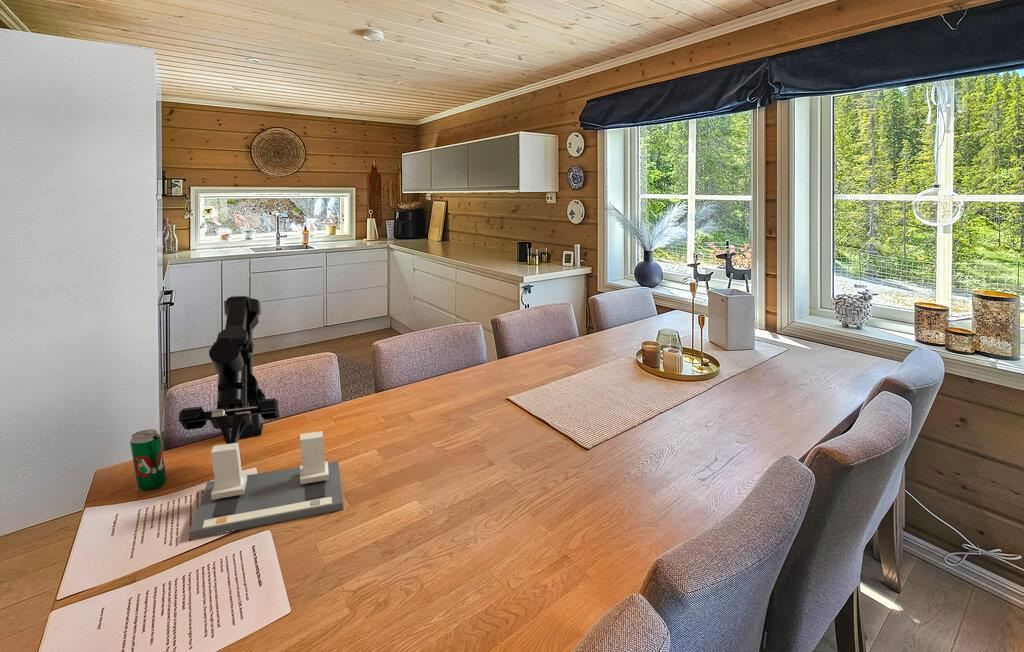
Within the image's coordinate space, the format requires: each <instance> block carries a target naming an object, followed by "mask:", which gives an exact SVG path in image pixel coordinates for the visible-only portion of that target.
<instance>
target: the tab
mask: <svg viewBox="0 0 1024 652" xmlns="http://www.w3.org/2000/svg"><path fill="white" fill-rule="evenodd" d="M299 440H300V441H299V442H300V452H301V453H300V454H301V465H300V466H299V467H300V484H306V483H312V482H318V481H323V480H329V471H328V462H329V461H325V459H326V458H325V446H324V434H323V430H321V431H313V432H305V433H300V436H299Z"/></svg>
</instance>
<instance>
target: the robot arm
mask: <svg viewBox="0 0 1024 652" xmlns="http://www.w3.org/2000/svg"><path fill="white" fill-rule="evenodd" d="M226 299H227V300H224V301H223V304H224V306H223V307H224V315H225V316H226V321H225V327H224V329H223V330H221V331H219V332H218V333H217V336H216V340H215V341H214V342H213V344H212V346H211V347H210V349H209V350H208V354H209V357H210V361H211V363H212V365H213V367H214V370H215V371H216V373H218V374H217V375H218V376H217V395H216V396H217V400H216V401H217V402H216V408H215V409H211V410H209V411H208V410H207V411H205V410H204V408H203V407H202V406H192V407H183V408H181V410H180V411H179V413H178V421H179V423H180V424H181V427H182V428H183V429H184V430H189V431H190V430H196V429H203V428H204V427H205V426H207V422H209V421H210V423H211V425H212V426H213V429H215V430H220V432H221V433H222V437H223V438H224V441H225V444H232V443H239V440H240V439H241V438H248V437H255V436H261V435H262V434H263V429H264V423H261V420H260V417H261V419H263V420H264V421H268V420H269V421H270V420H278V419H280V418H281V412H280V411H281V410H280V404H279V400H277V398H275V397H273V398H266V395H265V393H264V392H263V390H262V388H260V386H259V382H258V380H257V378H256V377H255V375H254V372H253V371H254V369H253V368H254V363H253V361H254V360H253V357H254V356H253V352H254V351H255V343H253V330H254V329H255V328H256V327H257V325H258V324H259V322H260V321H259V317H260V316H259V315H261V314H262V307H261V302H260V300H259V299H256V298H252V297H250V296H246V295H235V296H230V297H227V298H226Z"/></svg>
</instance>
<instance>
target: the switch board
mask: <svg viewBox="0 0 1024 652" xmlns="http://www.w3.org/2000/svg"><path fill="white" fill-rule="evenodd" d="M339 467H340V464H339V461H338V460H335V461H328V471H329V480H323V481H318V482H312V483H306V484H300V466H297V467H291V468H285V469H283V468H282V469H279V470H272V471H265V472H261V473H254V474H252V473H251V474H247V483H246V487H245V492H244V494H242V495H236V496H231V497H225V498H219V499H213V500H212V499H211V493H212V490H213V487H214V484H215V480H210V481H209V480H208V481H207V482H206V485H205V487H204V491H203V492H202V496H201V497H200V498H201V499H200V501H199V503H198V506H197V509H196V512H195V514H194V517H193V520H192V523H191V525H190V528H189V531H188V536H189V540H194V539H200V538H199V537H201V538H205V537H210V536H209V535H211V536H214V535H213V534H216V535H218V534H217V533H221V532H226V531H231V532H233V531H232V530H237V529H239V530H237V531H241V530H246V529H251V528H257V527H261V526H266V525H272V524H276V523H277V524H278V523H281V522H286V521H287V522H288V521H291V520H298V519H303V518H308V517H313V516H317V515H323V514H328V513H333V512H337V511H344V501H343V493H342V492H343V491H342V485H341V475H340V474H341V473H340V468H339ZM226 533H227V532H226ZM221 534H222V533H221Z"/></svg>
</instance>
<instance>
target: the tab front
mask: <svg viewBox="0 0 1024 652" xmlns="http://www.w3.org/2000/svg"><path fill="white" fill-rule="evenodd" d="M210 455H211V457H210V458H211V464H212V470H213V478H214V479H213V481H215V484H214V487H213V490H212V493H211V499H212V500H213V499H219V498H225V497H231V496H236V495H242V494H244V492H245V487H246V483H247V475H248V474H243V469H242V463H241V453H240V444H239V442H237V443H232V444H226V443H225V444H218V445H213V446H212V449H211V452H210Z"/></svg>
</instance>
